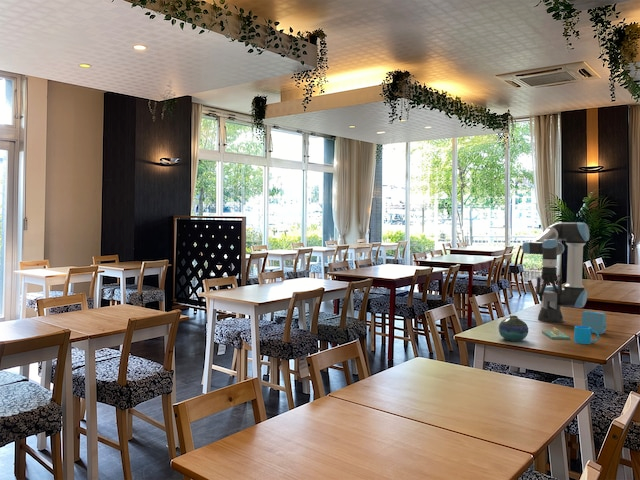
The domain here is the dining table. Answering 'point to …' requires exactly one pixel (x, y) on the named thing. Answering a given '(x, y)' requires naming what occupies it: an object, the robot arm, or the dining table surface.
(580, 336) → the mug
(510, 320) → the vase
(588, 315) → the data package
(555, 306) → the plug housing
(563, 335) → the header board
